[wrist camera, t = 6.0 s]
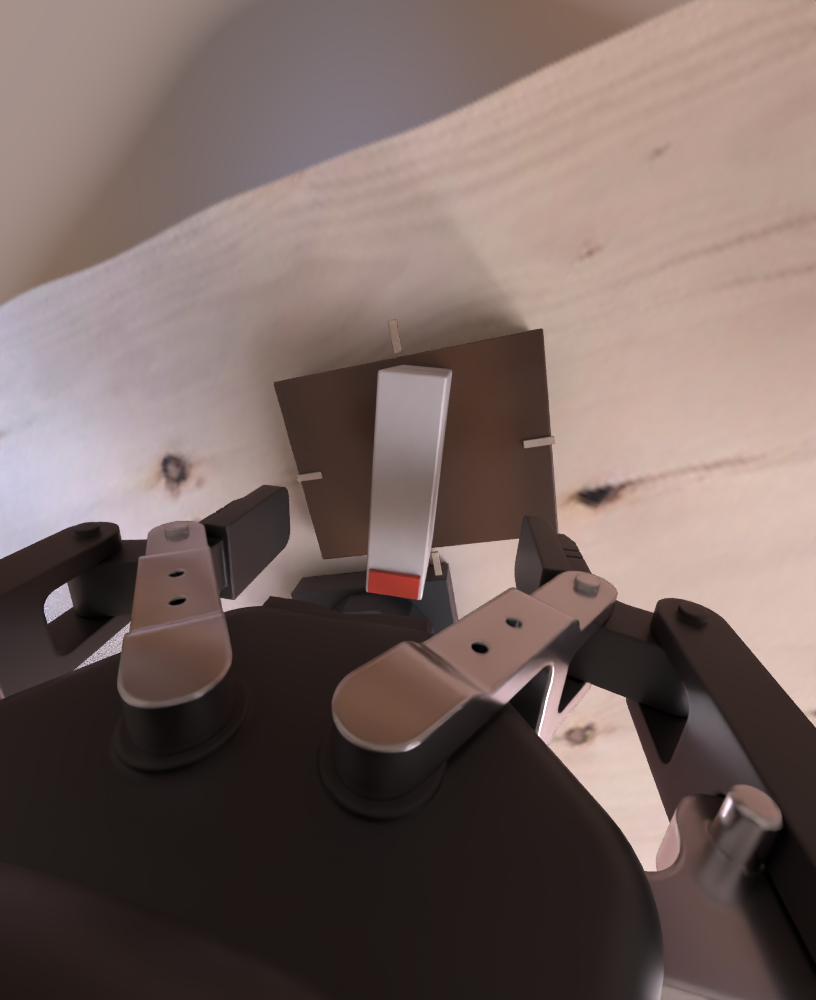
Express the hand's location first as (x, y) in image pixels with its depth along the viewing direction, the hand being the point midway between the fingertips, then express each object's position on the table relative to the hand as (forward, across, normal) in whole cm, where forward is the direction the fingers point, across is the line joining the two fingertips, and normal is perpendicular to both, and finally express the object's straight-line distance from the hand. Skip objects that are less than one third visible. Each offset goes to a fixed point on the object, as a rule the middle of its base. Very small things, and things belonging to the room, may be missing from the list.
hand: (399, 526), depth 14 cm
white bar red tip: (+7, 0, 0) cm, 7 cm away
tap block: (+10, 0, 0) cm, 11 cm away
